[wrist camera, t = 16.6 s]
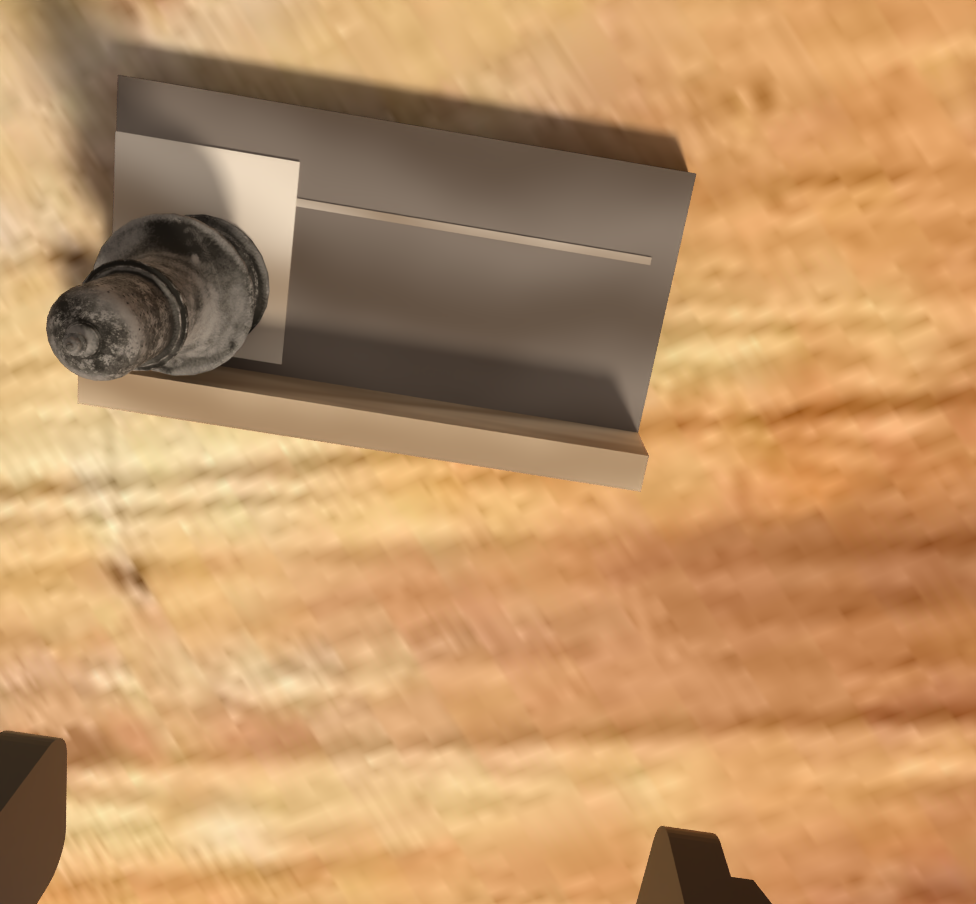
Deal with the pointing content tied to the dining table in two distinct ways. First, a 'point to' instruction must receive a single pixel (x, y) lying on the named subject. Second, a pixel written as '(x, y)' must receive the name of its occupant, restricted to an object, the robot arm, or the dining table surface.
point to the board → (413, 283)
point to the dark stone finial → (162, 299)
